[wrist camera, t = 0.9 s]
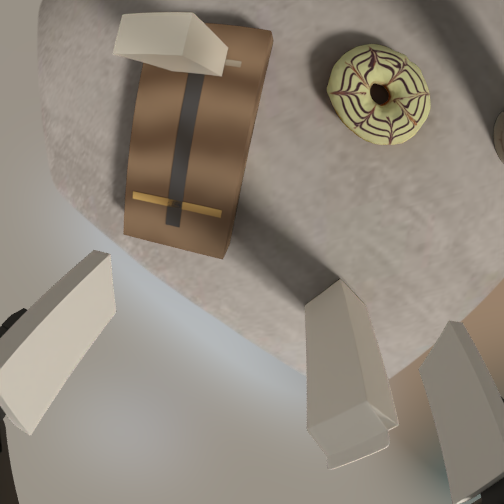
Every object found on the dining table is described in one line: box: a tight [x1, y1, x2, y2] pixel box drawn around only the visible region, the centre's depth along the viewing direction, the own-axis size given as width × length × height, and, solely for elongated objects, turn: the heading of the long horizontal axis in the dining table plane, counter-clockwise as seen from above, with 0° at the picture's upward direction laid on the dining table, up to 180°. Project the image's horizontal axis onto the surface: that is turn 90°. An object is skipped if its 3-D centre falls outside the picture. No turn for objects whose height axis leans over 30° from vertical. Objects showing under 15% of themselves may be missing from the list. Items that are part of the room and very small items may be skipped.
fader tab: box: [113, 12, 228, 77], centre depth 19 cm, size 3×5×11 cm, turn 78°
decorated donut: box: [327, 44, 430, 145], centre depth 26 cm, size 10×11×4 cm
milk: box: [305, 279, 399, 470], centre depth 29 cm, size 6×6×22 cm
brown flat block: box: [124, 23, 273, 259], centre depth 30 cm, size 24×12×4 cm, turn 168°
